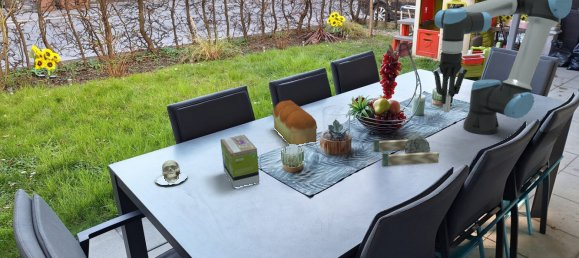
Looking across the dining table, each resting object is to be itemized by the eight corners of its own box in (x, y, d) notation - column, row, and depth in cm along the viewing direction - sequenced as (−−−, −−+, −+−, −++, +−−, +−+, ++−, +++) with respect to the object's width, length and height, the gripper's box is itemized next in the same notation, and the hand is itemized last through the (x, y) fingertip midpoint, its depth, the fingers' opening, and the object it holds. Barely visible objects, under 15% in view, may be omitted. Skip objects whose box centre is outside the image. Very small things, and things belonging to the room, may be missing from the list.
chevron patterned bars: (424, 147, 181) (425, 135, 179) (438, 162, 166) (439, 150, 164) (373, 150, 180) (373, 138, 178) (383, 166, 165) (383, 153, 163)
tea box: (223, 173, 165) (219, 138, 159) (247, 168, 168) (245, 133, 163) (234, 190, 152) (230, 152, 146) (260, 184, 155) (257, 147, 150)
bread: (317, 143, 189) (317, 112, 184) (291, 148, 185) (290, 116, 180) (297, 126, 211) (296, 97, 206) (273, 130, 207) (271, 101, 202)
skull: (190, 182, 157) (168, 166, 152) (172, 201, 158) (149, 185, 154) (190, 167, 168) (170, 152, 163) (173, 185, 169) (152, 170, 165)
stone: (421, 137, 165) (419, 127, 174) (400, 151, 168) (399, 141, 178) (436, 154, 166) (433, 144, 175) (415, 168, 170) (413, 157, 179)
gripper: (464, 49, 163) (458, 107, 171) (430, 50, 162) (425, 109, 170) (473, 52, 156) (466, 113, 164) (438, 54, 155) (432, 115, 163)
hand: (445, 111), depth 167 cm, fingers closed
